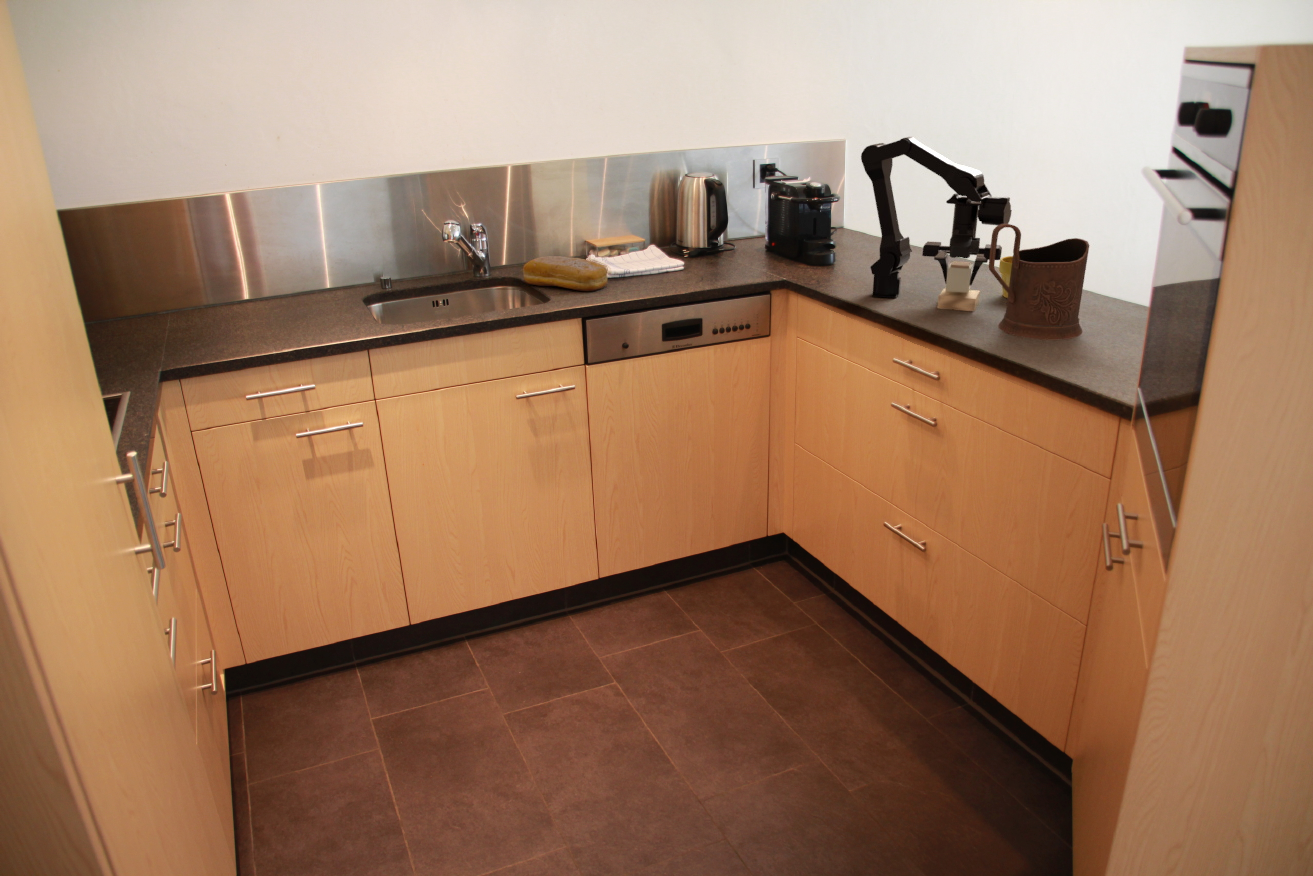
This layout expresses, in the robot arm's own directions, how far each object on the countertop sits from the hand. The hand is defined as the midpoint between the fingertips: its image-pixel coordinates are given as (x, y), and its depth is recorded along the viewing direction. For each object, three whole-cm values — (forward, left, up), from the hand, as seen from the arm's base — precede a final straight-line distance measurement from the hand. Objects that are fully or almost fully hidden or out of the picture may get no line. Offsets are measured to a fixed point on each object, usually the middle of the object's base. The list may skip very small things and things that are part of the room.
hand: (958, 284), depth 237 cm
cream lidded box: (0, 0, -1) cm, 1 cm away
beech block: (+1, 0, -6) cm, 6 cm away
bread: (-108, -9, -6) cm, 109 cm away
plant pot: (+14, +13, -6) cm, 20 cm away
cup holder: (+18, -18, -6) cm, 26 cm away
